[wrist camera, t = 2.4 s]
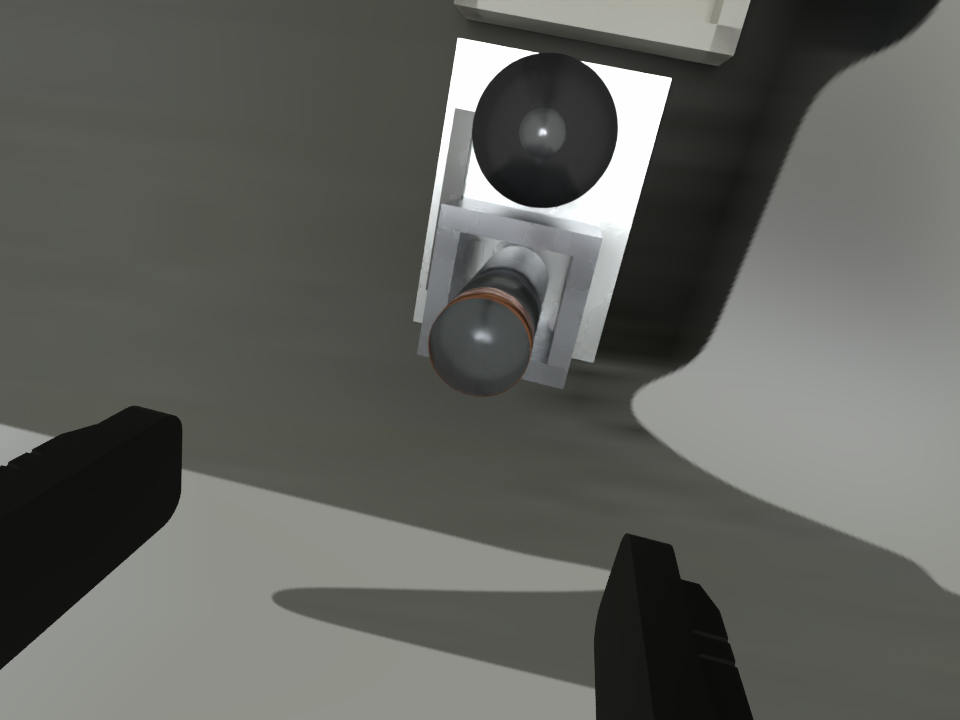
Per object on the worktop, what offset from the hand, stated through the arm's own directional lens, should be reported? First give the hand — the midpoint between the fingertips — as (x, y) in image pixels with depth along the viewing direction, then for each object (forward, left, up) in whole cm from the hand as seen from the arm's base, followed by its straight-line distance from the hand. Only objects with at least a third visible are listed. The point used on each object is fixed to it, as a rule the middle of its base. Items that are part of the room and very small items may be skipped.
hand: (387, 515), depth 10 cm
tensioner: (-4, 0, -23) cm, 23 cm away
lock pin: (0, 0, -22) cm, 22 cm away
